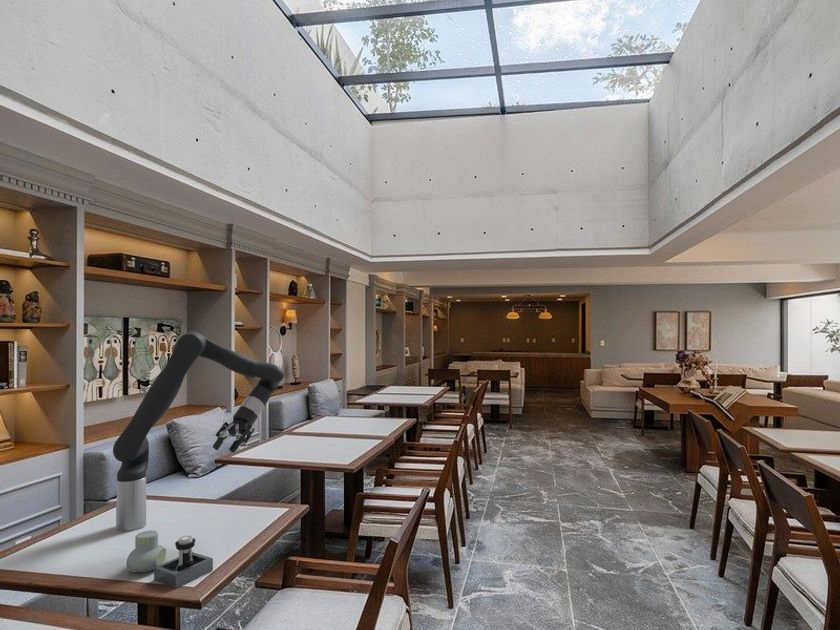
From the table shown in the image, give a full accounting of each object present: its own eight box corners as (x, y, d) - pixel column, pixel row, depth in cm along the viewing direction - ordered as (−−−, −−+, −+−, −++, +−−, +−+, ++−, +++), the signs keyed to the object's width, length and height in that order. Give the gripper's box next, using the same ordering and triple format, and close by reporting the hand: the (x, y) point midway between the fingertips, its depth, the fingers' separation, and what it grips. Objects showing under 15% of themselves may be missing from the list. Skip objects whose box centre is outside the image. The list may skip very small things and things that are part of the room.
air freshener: (153, 576, 147) (153, 540, 148) (123, 577, 147) (123, 542, 147) (168, 559, 158) (168, 526, 158) (140, 560, 157) (140, 527, 158)
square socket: (153, 580, 145) (153, 567, 145) (191, 563, 155) (191, 551, 155) (175, 588, 140) (175, 575, 140) (212, 570, 150) (212, 558, 150)
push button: (177, 581, 144) (177, 544, 144) (166, 576, 147) (166, 540, 147) (199, 571, 149) (199, 536, 150) (188, 567, 152) (188, 533, 152)
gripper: (229, 404, 189) (202, 442, 179) (257, 406, 182) (230, 445, 172) (241, 416, 194) (215, 454, 184) (268, 419, 187) (243, 458, 176)
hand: (222, 450), depth 178 cm, fingers open, 8 cm apart
